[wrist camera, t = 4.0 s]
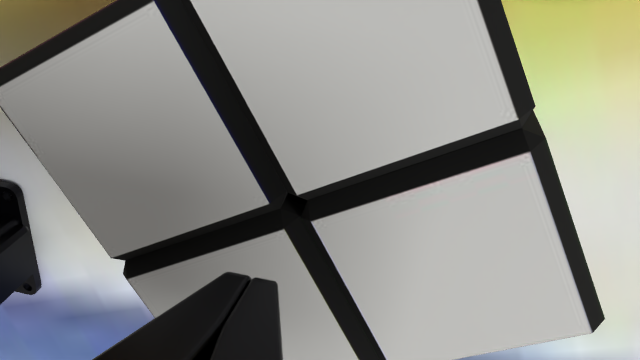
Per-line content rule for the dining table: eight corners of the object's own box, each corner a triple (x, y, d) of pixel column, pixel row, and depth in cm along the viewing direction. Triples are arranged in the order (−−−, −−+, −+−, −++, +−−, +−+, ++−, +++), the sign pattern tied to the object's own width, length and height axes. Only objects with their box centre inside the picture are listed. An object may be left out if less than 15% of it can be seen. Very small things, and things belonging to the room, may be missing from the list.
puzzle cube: (176, 1, 19) (-33, 84, 11) (437, -143, 16) (440, -192, 7) (297, 219, 23) (214, 415, 14) (534, 142, 19) (615, 341, 11)
